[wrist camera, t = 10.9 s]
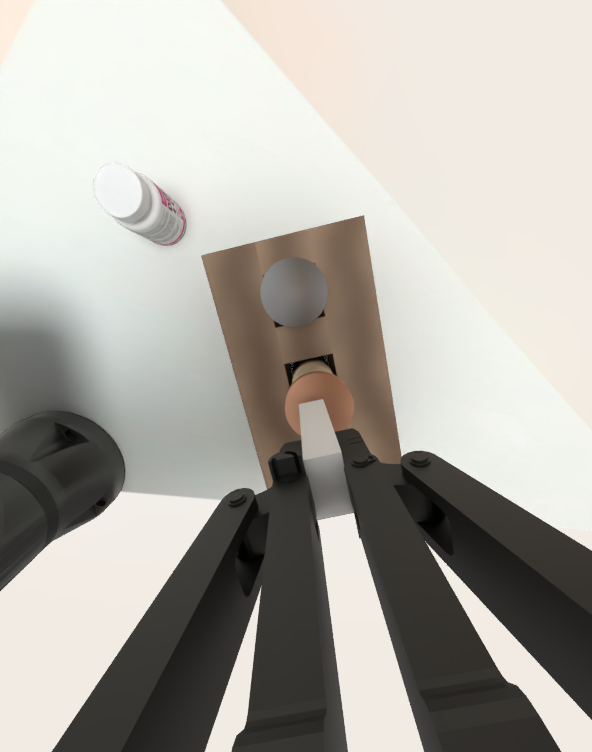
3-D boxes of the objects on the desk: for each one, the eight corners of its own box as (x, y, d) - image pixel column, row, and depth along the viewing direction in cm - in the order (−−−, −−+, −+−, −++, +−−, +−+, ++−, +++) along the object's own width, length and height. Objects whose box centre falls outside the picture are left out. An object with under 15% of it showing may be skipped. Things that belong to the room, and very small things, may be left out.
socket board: (278, 471, 38) (273, 513, 30) (224, 268, 32) (201, 255, 24) (383, 449, 37) (406, 487, 29) (347, 238, 31) (363, 215, 23)
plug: (279, 324, 33) (269, 333, 21) (269, 282, 32) (252, 266, 20) (320, 315, 33) (333, 319, 21) (311, 272, 31) (320, 249, 20)
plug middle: (294, 395, 32) (293, 446, 20) (284, 355, 31) (277, 383, 19) (336, 386, 32) (359, 432, 20) (327, 345, 31) (347, 367, 19)
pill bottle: (195, 217, 31) (158, 183, 23) (172, 255, 32) (129, 236, 23) (156, 188, 30) (104, 142, 22) (135, 227, 31) (76, 198, 23)
